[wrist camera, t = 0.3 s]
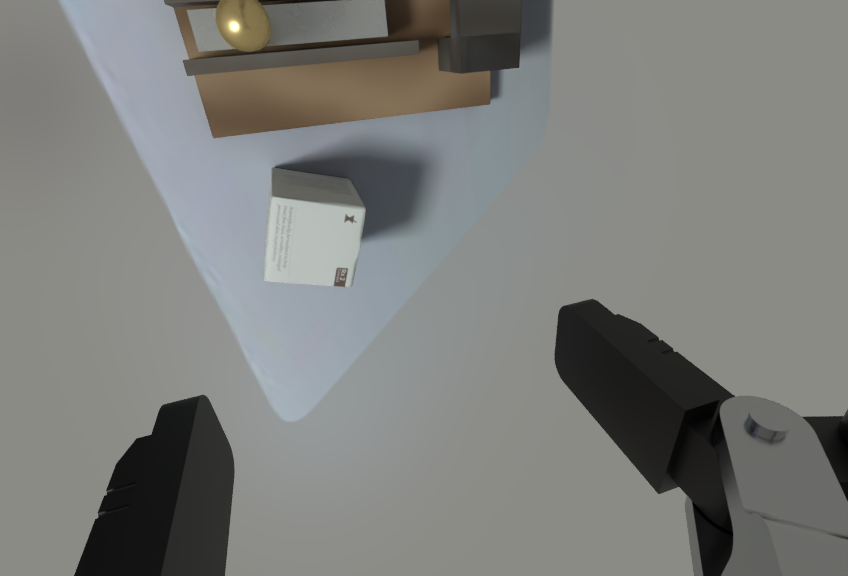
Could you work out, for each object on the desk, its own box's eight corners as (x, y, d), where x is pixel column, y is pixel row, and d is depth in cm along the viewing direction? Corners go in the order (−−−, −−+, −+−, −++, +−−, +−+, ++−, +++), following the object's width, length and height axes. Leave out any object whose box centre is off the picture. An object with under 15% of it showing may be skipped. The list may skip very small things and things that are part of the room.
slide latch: (191, 8, 25) (165, -4, 19) (377, -3, 27) (404, -17, 22) (204, 55, 26) (184, 57, 20) (381, 40, 29) (408, 38, 23)
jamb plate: (148, -90, 24) (115, -126, 19) (481, -96, 28) (525, -127, 23) (215, 134, 30) (203, 151, 25) (482, 102, 34) (517, 111, 29)
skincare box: (270, 165, 32) (269, 193, 26) (351, 178, 34) (368, 206, 28) (264, 241, 35) (262, 283, 29) (341, 249, 37) (353, 289, 31)
